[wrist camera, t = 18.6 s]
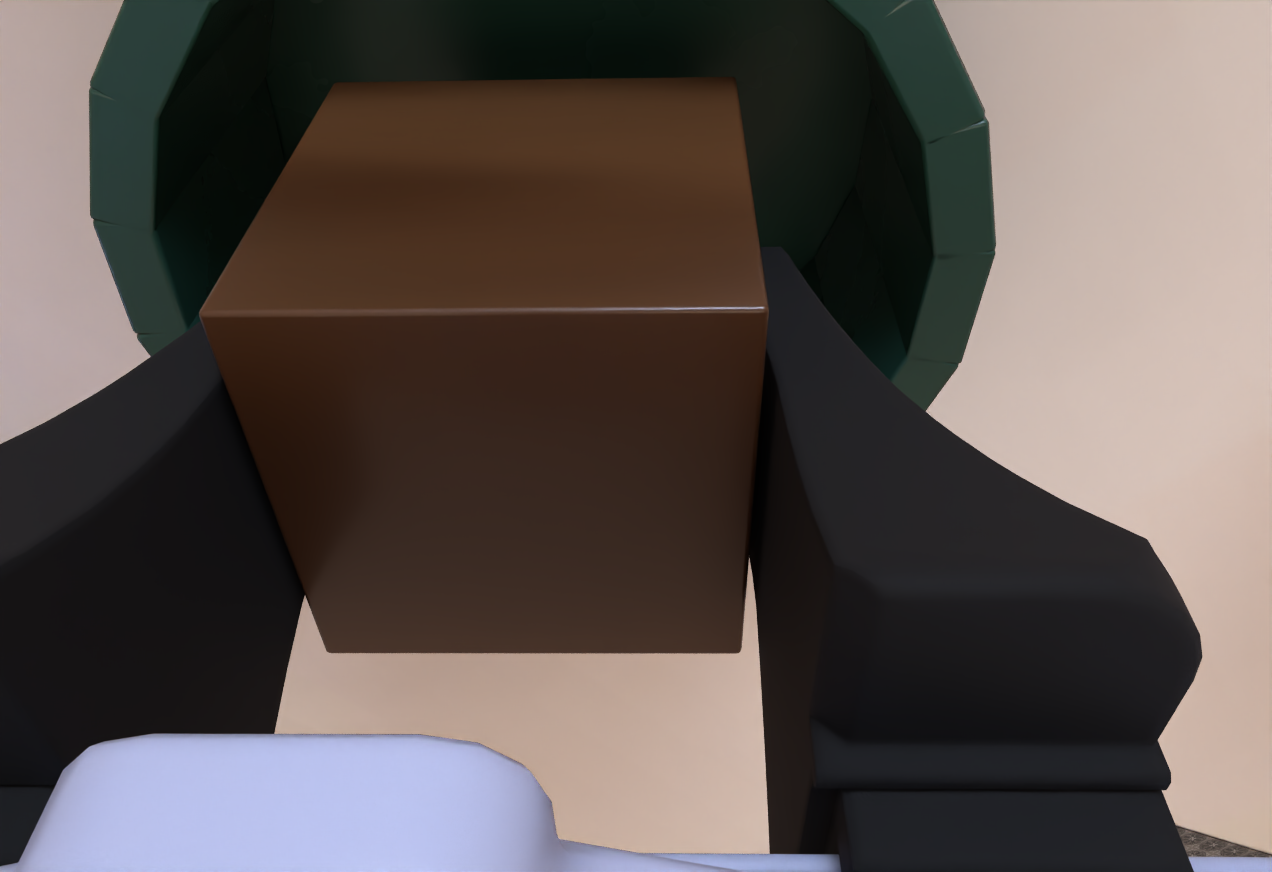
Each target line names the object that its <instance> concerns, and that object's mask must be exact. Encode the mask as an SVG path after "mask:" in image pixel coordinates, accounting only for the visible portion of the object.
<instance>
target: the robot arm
mask: <svg viewBox="0 0 1272 872" xmlns="http://www.w3.org/2000/svg"><path fill="white" fill-rule="evenodd" d="M760 250H761V257H762V264H763V271H764V278H765V285H766V292H767V299H768V306H769V318H768V330H767V342H766V354H765V367H764V379H763V391H762V403H761V415H760V428H759V440H758V452H757V464H756V477H755V489H754V501H753V513H752V526H751V538H750V550H749V558H750V563H751V569H752V575H753V583H754V591H755V599H756V609H757V625H758V640H759V656H760V671H761V689H762V706H763V723H764V741H765V761H766V781H767V801H768V822H769V845H770V854H676V853H636V852H630V851H625V850H619V849H613V848H607V847H602V846H596V845H590V844H584V843H579V842H573V841H567V840H562V839H559V838H558V836H557V833H556V826H555V820H554V813H553V807H552V802H551V800H550V799H549V797H548V796H547V795H546V793H545V792H544V790H543V789H542V787H541V786H540V784H539V783H538V782H537V780H536V779H535V777H534V776H533V774H532V773H531V772H530V771H529V770H528V769H527V768H526V767H525V766H524V765H523V764H521V763H519V762H517V761H515V760H513V759H511V758H509V757H507V756H505V755H503V754H500V753H498V752H496V751H494V750H492V749H490V748H488V747H486V746H484V745H482V744H480V743H477V742H470V741H463V740H456V739H449V738H442V737H435V736H428V735H421V734H274V732H275V727H276V722H277V717H278V712H279V707H280V702H281V697H282V692H283V687H284V682H285V677H286V672H287V667H288V663H289V659H290V654H291V650H292V646H293V641H294V637H295V633H296V628H297V624H298V619H299V615H300V611H301V607H302V603H303V599H304V596H305V593H304V590H303V588H302V585H301V582H300V580H299V577H298V575H297V572H296V569H295V567H294V564H293V561H292V559H291V556H290V554H289V551H288V548H287V546H286V543H285V540H284V538H283V535H282V533H281V530H280V527H279V525H278V522H277V519H276V517H275V514H274V512H273V509H272V506H271V504H270V501H269V498H268V496H267V493H266V491H265V488H264V485H263V483H262V480H261V477H260V475H259V472H258V470H257V467H256V464H255V462H254V459H253V456H252V454H251V451H250V449H249V446H248V443H247V441H246V438H245V435H244V433H243V430H242V428H241V425H240V422H239V420H238V417H237V414H236V412H235V409H234V407H233V404H232V401H231V399H230V396H229V393H228V391H227V388H226V386H225V383H224V380H223V378H222V375H221V372H220V370H219V367H218V365H217V362H216V359H215V357H214V354H213V351H212V349H211V346H210V344H209V341H208V338H207V336H206V333H205V330H204V328H203V325H202V323H201V321H200V322H198V323H197V324H196V325H194V326H193V327H192V328H191V329H189V330H188V331H187V332H185V333H184V334H183V335H181V336H180V337H178V338H177V339H175V340H174V341H173V342H171V343H170V344H168V345H167V346H166V347H164V348H163V349H161V350H160V351H158V352H157V353H156V354H154V355H153V356H151V357H150V358H149V359H147V360H146V361H144V362H143V363H141V364H140V365H139V366H137V367H136V368H134V369H133V370H132V371H130V372H129V373H127V374H126V375H124V376H123V377H121V378H120V379H118V380H117V381H115V382H113V383H112V384H110V385H109V386H107V387H105V388H104V389H102V390H101V391H99V392H97V393H96V394H94V395H93V396H91V397H89V398H87V399H86V400H84V401H82V402H80V403H79V404H77V405H75V406H73V407H72V408H70V409H68V410H66V411H65V412H63V413H61V414H59V415H58V416H56V417H54V418H52V419H50V420H49V421H47V422H45V423H43V424H41V425H39V426H37V427H35V428H33V429H31V430H29V431H27V432H25V433H23V434H21V435H19V436H17V437H14V438H12V439H10V440H8V441H6V442H4V443H2V444H0V872H1272V857H1188V855H1187V853H1186V850H1185V848H1184V845H1183V843H1182V840H1181V838H1180V835H1179V833H1178V830H1177V828H1176V825H1175V823H1174V820H1173V818H1172V815H1171V813H1170V810H1169V808H1168V805H1167V803H1166V800H1165V798H1164V795H1163V793H1162V790H1167V788H1168V787H1169V785H1170V783H1171V772H1170V769H1169V767H1168V765H1167V762H1166V760H1165V757H1164V755H1163V752H1162V750H1161V748H1160V745H1159V743H1158V738H1159V737H1160V735H1161V733H1162V732H1163V730H1164V728H1165V727H1166V725H1167V723H1168V722H1169V720H1170V718H1171V717H1172V715H1173V714H1174V712H1175V710H1176V709H1177V707H1178V705H1179V704H1180V702H1181V700H1182V699H1183V697H1184V695H1185V694H1186V692H1187V690H1188V689H1189V687H1190V686H1191V684H1192V682H1193V681H1194V678H1195V675H1196V673H1197V670H1198V667H1199V665H1200V662H1201V659H1202V649H1201V640H1200V634H1199V632H1198V630H1197V627H1196V625H1195V623H1194V621H1193V619H1192V617H1191V615H1190V613H1189V611H1188V609H1187V607H1186V605H1185V603H1184V601H1183V599H1182V597H1181V595H1180V593H1179V591H1178V589H1177V588H1176V586H1175V584H1174V582H1173V580H1172V578H1171V576H1170V575H1169V573H1168V572H1167V570H1166V569H1165V567H1164V566H1163V564H1162V563H1161V561H1160V560H1159V558H1158V556H1157V555H1156V553H1155V552H1154V550H1153V548H1152V547H1151V545H1150V543H1149V542H1148V540H1147V539H1145V538H1143V537H1141V536H1139V535H1137V534H1134V533H1132V532H1130V531H1128V530H1126V529H1124V528H1121V527H1119V526H1117V525H1115V524H1113V523H1110V522H1108V521H1106V520H1104V519H1102V518H1099V517H1097V516H1095V515H1093V514H1091V513H1089V512H1086V511H1084V510H1082V509H1080V508H1078V507H1075V506H1073V505H1071V504H1069V503H1067V502H1065V501H1063V500H1061V499H1059V498H1057V497H1056V496H1054V495H1052V494H1050V493H1048V492H1047V491H1045V490H1043V489H1041V488H1039V487H1038V486H1036V485H1034V484H1032V483H1030V482H1029V481H1027V480H1025V479H1023V478H1021V477H1019V476H1018V475H1016V474H1015V473H1013V472H1011V471H1010V470H1008V469H1006V468H1005V467H1003V466H1001V465H1000V464H998V463H996V462H995V461H993V460H992V459H990V458H989V457H987V456H986V455H984V454H983V453H981V452H980V451H978V450H977V449H975V448H974V447H973V446H971V445H970V444H968V443H967V442H965V441H964V440H962V439H961V438H959V437H958V436H956V435H955V434H954V433H952V432H951V431H950V430H948V429H947V428H946V427H944V426H943V425H942V424H940V423H939V422H938V421H936V420H935V419H934V418H932V417H931V416H930V415H929V414H928V413H926V412H925V411H924V410H923V409H922V408H920V407H919V406H918V405H917V404H916V403H914V402H913V401H912V400H911V399H910V398H909V397H907V396H906V395H905V394H904V393H903V392H901V391H900V390H899V389H898V388H897V387H896V386H895V385H894V384H893V383H892V382H891V381H890V380H889V379H888V378H887V377H886V376H885V375H884V374H883V373H882V372H881V371H880V370H879V369H878V368H877V367H876V366H875V365H874V364H873V363H872V362H871V361H870V360H869V359H868V358H867V357H866V355H865V354H864V353H863V352H862V351H861V350H860V349H859V348H858V347H857V345H856V344H855V343H854V342H853V341H852V340H851V338H850V337H849V336H848V335H847V334H846V332H845V331H844V330H843V329H842V328H841V326H840V325H839V324H838V323H837V322H836V320H835V319H834V318H833V317H832V316H831V314H830V313H829V312H828V310H827V309H826V308H825V307H824V305H823V304H822V303H821V301H820V300H819V299H818V297H817V296H816V294H815V293H814V292H813V290H812V289H811V288H810V286H809V285H808V283H807V282H806V281H805V279H804V278H803V276H802V275H801V273H800V272H799V270H798V269H797V267H796V266H795V264H794V263H793V261H792V260H791V258H790V256H789V255H788V254H787V253H786V252H785V251H784V250H783V249H782V247H760Z"/></svg>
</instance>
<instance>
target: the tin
mask: <svg viewBox="0 0 1272 872" xmlns="http://www.w3.org/2000/svg"><path fill="white" fill-rule="evenodd" d="M681 77H734V78H735V79H736V82H737V89H738V96H739V103H740V110H741V117H742V124H743V131H744V138H745V145H746V152H747V159H748V166H749V173H750V180H751V187H752V194H753V201H754V208H755V215H756V222H757V229H758V236H759V243H760V247H782V249H783V250H784V251H785V252H786V253H787V254H788V255H789V256H790V258H791V260H792V261H793V263H794V264H795V266H796V267H797V269H798V270H799V272H800V273H801V275H802V276H803V278H804V279H805V281H806V282H807V283H808V285H809V286H810V288H811V289H812V290H813V292H814V293H815V294H816V296H817V297H818V299H819V300H820V301H821V303H822V304H823V305H824V307H825V308H826V309H827V310H828V312H829V313H830V314H831V316H832V317H833V318H834V319H835V320H836V322H837V323H838V324H839V325H840V326H841V328H842V329H843V330H844V331H845V332H846V334H847V335H848V336H849V337H850V338H851V340H852V341H853V342H854V343H855V344H856V345H857V347H858V348H859V349H860V350H861V351H862V352H863V353H864V354H865V355H866V357H867V358H868V359H869V360H870V361H871V362H872V363H873V364H874V365H875V366H876V367H877V368H878V369H879V370H880V371H881V372H882V373H883V374H884V375H885V376H886V377H887V378H888V379H889V380H890V381H891V382H892V383H893V384H894V385H895V386H896V387H897V388H898V389H899V390H900V391H901V392H903V393H904V394H905V395H906V396H907V397H909V398H910V399H911V400H912V401H913V402H914V403H916V404H917V405H918V406H919V407H920V408H922V409H923V410H924V411H926V410H927V408H928V407H929V406H930V404H931V403H932V402H933V400H934V399H935V397H936V396H937V395H938V393H939V392H940V391H941V389H942V388H943V387H944V385H945V384H946V382H947V381H948V380H949V378H950V377H951V376H952V374H953V373H954V372H955V370H956V369H957V367H958V363H961V361H962V358H963V355H964V352H965V349H966V345H967V342H968V339H969V336H970V333H971V329H972V326H973V323H974V320H975V317H976V314H977V310H978V307H979V304H980V301H981V298H982V294H983V291H984V288H985V285H986V282H987V278H988V275H989V272H990V269H991V266H992V263H993V259H994V256H995V247H996V236H995V219H994V202H993V185H992V168H991V152H990V135H989V122H988V120H987V119H986V117H985V109H984V107H983V105H982V103H981V101H980V99H979V96H978V94H977V92H976V90H975V88H974V86H973V84H972V81H971V79H970V77H969V75H968V73H967V71H966V69H965V66H964V64H963V62H962V60H961V58H960V56H959V53H958V51H957V49H956V47H955V45H954V43H953V41H952V38H951V36H950V34H949V32H948V30H947V28H946V26H945V23H944V21H943V19H942V17H941V15H940V13H939V11H938V8H937V6H936V4H935V2H934V0H124V1H123V4H122V6H121V9H120V11H119V13H118V16H117V18H116V21H115V23H114V25H113V28H112V30H111V33H110V35H109V38H108V40H107V42H106V45H105V47H104V50H103V52H102V54H101V57H100V59H99V62H98V64H97V66H96V69H95V71H94V74H93V76H92V78H91V81H90V86H91V88H90V89H89V131H90V216H91V218H93V219H94V221H93V223H94V228H95V230H96V233H97V236H98V238H99V241H100V244H101V246H102V249H103V252H104V254H105V257H106V260H107V262H108V265H109V268H110V270H111V273H112V276H113V278H114V281H115V284H116V286H117V289H118V292H119V294H120V297H121V300H122V302H123V305H124V308H125V310H126V313H127V316H128V318H129V321H130V324H131V326H132V329H133V331H134V332H135V333H137V338H138V340H139V342H140V343H141V344H142V346H143V347H144V348H145V349H146V351H147V352H148V353H149V355H150V356H153V355H154V354H156V353H157V352H158V351H160V350H161V349H163V348H164V347H166V346H167V345H168V344H170V343H171V342H173V341H174V340H175V339H177V338H178V337H180V336H181V335H183V334H184V333H185V332H187V331H188V330H189V329H191V328H192V327H193V326H194V325H196V324H197V323H198V322H200V321H201V320H200V317H199V313H200V309H201V308H202V306H203V304H204V303H205V301H206V299H207V298H208V296H209V294H210V293H211V291H212V289H213V287H214V286H215V284H216V282H217V281H218V279H219V277H220V276H221V274H222V272H223V271H224V269H225V267H226V265H227V264H228V262H229V260H230V259H231V257H232V255H233V254H234V252H235V250H236V249H237V247H238V245H239V243H240V242H241V240H242V238H243V237H244V235H245V233H246V232H247V230H248V228H249V227H250V225H251V223H252V221H253V220H254V218H255V216H256V215H257V213H258V211H259V210H260V208H261V206H262V204H263V203H264V201H265V199H266V198H267V196H268V194H269V193H270V191H271V189H272V188H273V186H274V184H275V182H276V181H277V179H278V177H279V176H280V174H281V172H282V171H283V169H284V167H285V166H286V164H287V162H288V160H289V159H290V157H291V155H292V154H293V152H294V150H295V149H296V147H297V145H298V144H299V142H300V140H301V138H302V137H303V135H304V133H305V132H306V130H307V128H308V127H309V125H310V123H311V122H312V120H313V118H314V116H315V115H316V113H317V111H318V110H319V108H320V106H321V105H322V103H323V101H324V100H325V98H326V96H327V94H328V93H329V91H330V89H331V88H332V86H333V84H335V83H337V82H403V81H472V80H542V79H611V78H681Z"/></svg>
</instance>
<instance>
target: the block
mask: <svg viewBox="0 0 1272 872" xmlns="http://www.w3.org/2000/svg"><path fill="white" fill-rule="evenodd" d="M199 317H200V320H201V323H202V325H203V328H204V330H205V333H206V336H207V338H208V341H209V344H210V346H211V349H212V351H213V354H214V357H215V359H216V362H217V365H218V367H219V370H220V372H221V375H222V378H223V380H224V383H225V386H226V388H227V391H228V393H229V396H230V399H231V401H232V404H233V407H234V409H235V412H236V414H237V417H238V420H239V422H240V425H241V428H242V430H243V433H244V435H245V438H246V441H247V443H248V446H249V449H250V451H251V454H252V456H253V459H254V462H255V464H256V467H257V470H258V472H259V475H260V477H261V480H262V483H263V485H264V488H265V491H266V493H267V496H268V498H269V501H270V504H271V506H272V509H273V512H274V514H275V517H276V519H277V522H278V525H279V527H280V530H281V533H282V535H283V538H284V540H285V543H286V546H287V548H288V551H289V554H290V556H291V559H292V561H293V564H294V567H295V569H296V572H297V575H298V577H299V580H300V582H301V585H302V588H303V590H304V593H305V596H306V598H307V601H308V603H309V606H310V609H311V611H312V614H313V617H314V619H315V622H316V624H317V627H318V630H319V632H320V635H321V638H322V640H323V643H324V645H325V648H326V651H327V652H329V653H739V652H740V651H741V648H742V636H743V623H744V611H745V599H746V587H747V575H748V562H749V550H750V538H751V526H752V513H753V501H754V489H755V477H756V464H757V452H758V440H759V428H760V415H761V403H762V391H763V379H764V367H765V354H766V342H767V330H768V318H769V306H768V299H767V292H766V285H765V278H764V271H763V264H762V257H761V250H760V243H759V236H758V229H757V222H756V215H755V208H754V201H753V194H752V187H751V180H750V173H749V166H748V159H747V152H746V145H745V138H744V131H743V124H742V117H741V110H740V103H739V96H738V89H737V82H736V79H735V78H734V77H681V78H611V79H542V80H472V81H403V82H337V83H335V84H333V86H332V88H331V89H330V91H329V93H328V94H327V96H326V98H325V100H324V101H323V103H322V105H321V106H320V108H319V110H318V111H317V113H316V115H315V116H314V118H313V120H312V122H311V123H310V125H309V127H308V128H307V130H306V132H305V133H304V135H303V137H302V138H301V140H300V142H299V144H298V145H297V147H296V149H295V150H294V152H293V154H292V155H291V157H290V159H289V160H288V162H287V164H286V166H285V167H284V169H283V171H282V172H281V174H280V176H279V177H278V179H277V181H276V182H275V184H274V186H273V188H272V189H271V191H270V193H269V194H268V196H267V198H266V199H265V201H264V203H263V204H262V206H261V208H260V210H259V211H258V213H257V215H256V216H255V218H254V220H253V221H252V223H251V225H250V227H249V228H248V230H247V232H246V233H245V235H244V237H243V238H242V240H241V242H240V243H239V245H238V247H237V249H236V250H235V252H234V254H233V255H232V257H231V259H230V260H229V262H228V264H227V265H226V267H225V269H224V271H223V272H222V274H221V276H220V277H219V279H218V281H217V282H216V284H215V286H214V287H213V289H212V291H211V293H210V294H209V296H208V298H207V299H206V301H205V303H204V304H203V306H202V308H201V309H200V313H199Z"/></svg>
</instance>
